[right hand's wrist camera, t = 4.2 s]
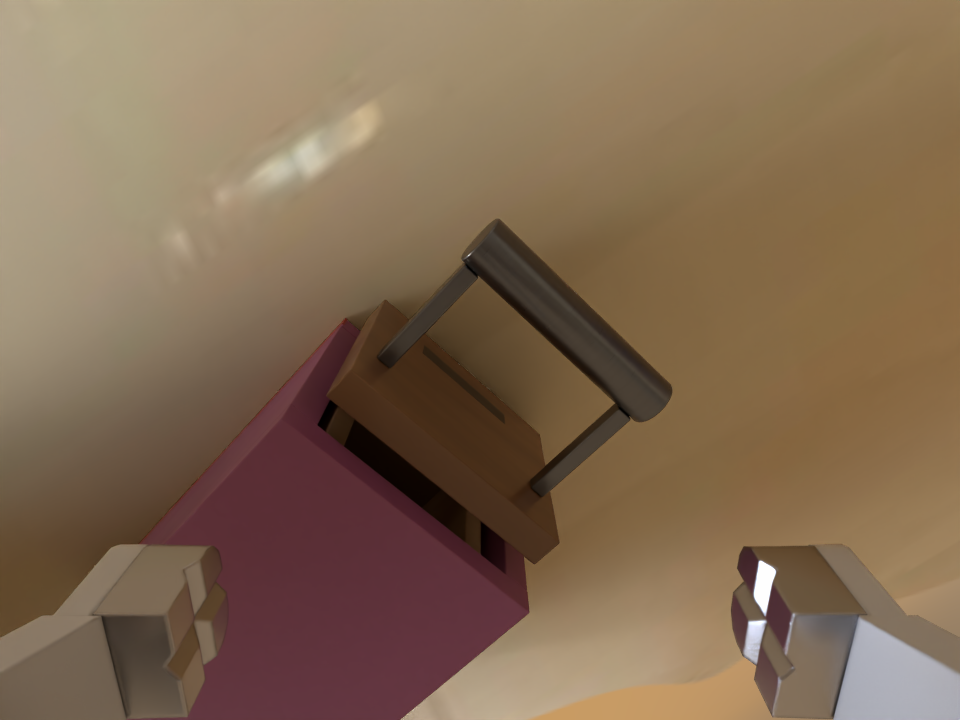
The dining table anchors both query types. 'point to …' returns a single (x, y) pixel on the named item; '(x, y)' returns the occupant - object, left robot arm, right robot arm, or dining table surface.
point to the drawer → (481, 401)
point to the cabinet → (333, 571)
